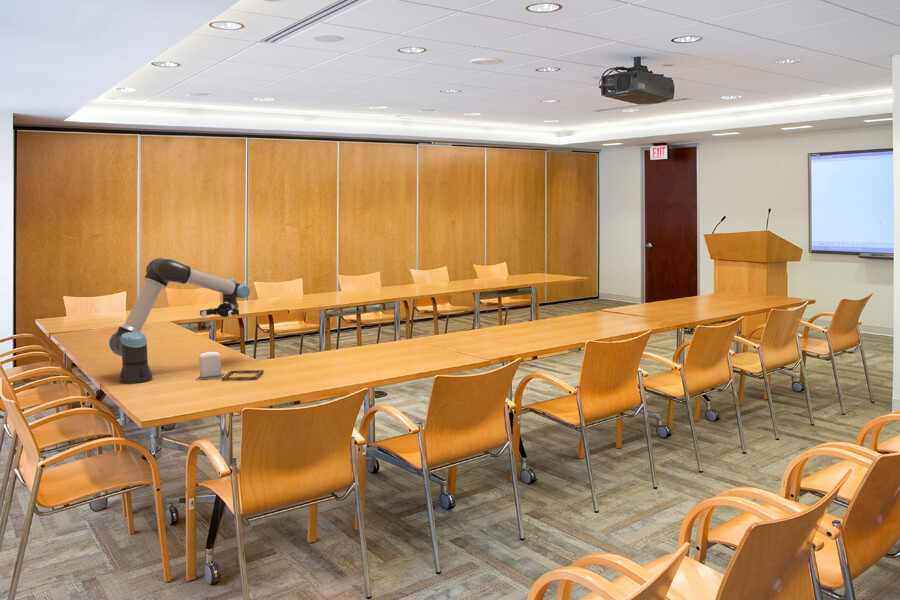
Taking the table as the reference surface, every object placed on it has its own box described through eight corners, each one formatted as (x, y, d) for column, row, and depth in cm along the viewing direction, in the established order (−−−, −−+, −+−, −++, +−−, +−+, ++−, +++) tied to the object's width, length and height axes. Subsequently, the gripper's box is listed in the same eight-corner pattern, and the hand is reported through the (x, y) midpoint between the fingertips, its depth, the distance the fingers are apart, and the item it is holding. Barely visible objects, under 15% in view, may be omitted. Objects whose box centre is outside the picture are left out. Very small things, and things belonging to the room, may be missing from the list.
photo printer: (200, 378, 365) (199, 353, 364) (199, 376, 369) (198, 352, 368) (222, 376, 370) (220, 351, 368) (220, 374, 373) (219, 350, 372)
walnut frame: (222, 380, 361) (221, 377, 361) (230, 373, 378) (230, 370, 377) (257, 380, 362) (256, 377, 362) (263, 372, 379) (263, 369, 378)
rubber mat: (195, 380, 363) (195, 379, 363) (202, 375, 375) (202, 374, 375) (220, 379, 364) (220, 378, 364) (226, 374, 376) (226, 373, 376)
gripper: (249, 315, 402) (240, 321, 381) (202, 316, 400) (191, 322, 379) (248, 302, 401) (239, 306, 380) (202, 303, 399) (190, 307, 378)
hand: (215, 314), depth 379 cm, fingers open, 13 cm apart
